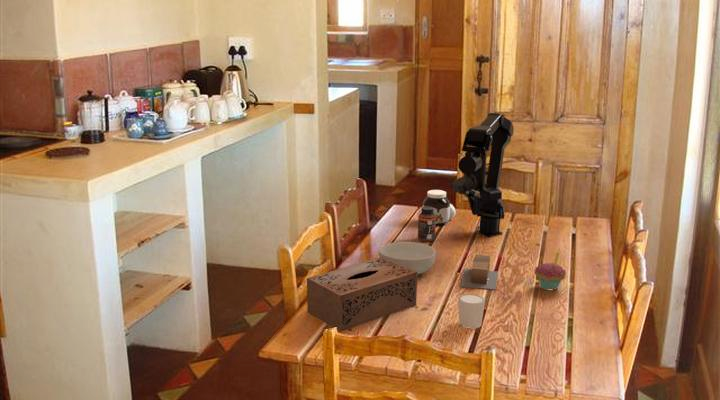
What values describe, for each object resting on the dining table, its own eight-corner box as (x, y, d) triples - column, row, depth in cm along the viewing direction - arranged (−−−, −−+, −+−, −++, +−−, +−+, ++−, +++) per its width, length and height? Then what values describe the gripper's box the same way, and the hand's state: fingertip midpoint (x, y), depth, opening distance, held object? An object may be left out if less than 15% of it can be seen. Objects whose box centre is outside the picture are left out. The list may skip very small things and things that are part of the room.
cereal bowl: (442, 267, 228) (443, 245, 226) (423, 286, 214) (424, 263, 212) (391, 258, 235) (391, 237, 233) (369, 276, 221) (370, 254, 219)
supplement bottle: (434, 243, 250) (435, 210, 247) (416, 241, 251) (417, 209, 248) (436, 237, 256) (437, 205, 252) (418, 236, 257) (419, 204, 254)
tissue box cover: (381, 289, 212) (382, 256, 209) (416, 306, 201) (417, 272, 198) (307, 313, 196) (306, 278, 193) (340, 332, 185) (340, 295, 183)
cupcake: (565, 284, 216) (568, 245, 213) (562, 295, 208) (566, 254, 205) (535, 280, 219) (538, 241, 215) (531, 291, 211) (534, 251, 208)
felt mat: (464, 269, 227) (464, 268, 226) (498, 272, 224) (498, 271, 224) (460, 286, 213) (460, 285, 213) (495, 290, 211) (495, 289, 211)
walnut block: (475, 254, 225) (471, 268, 214) (490, 255, 224) (487, 269, 213) (474, 268, 227) (470, 283, 215) (489, 269, 226) (486, 284, 214)
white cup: (454, 318, 193) (455, 293, 191) (480, 317, 194) (481, 293, 192) (459, 330, 186) (461, 304, 184) (486, 329, 187) (488, 304, 185)
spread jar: (420, 225, 268) (421, 194, 265) (423, 216, 279) (424, 186, 276) (454, 227, 267) (455, 196, 263) (455, 218, 277) (457, 187, 274)
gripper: (438, 165, 240) (437, 211, 244) (476, 177, 224) (474, 226, 229) (465, 161, 245) (463, 206, 250) (504, 172, 230) (501, 220, 234)
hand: (474, 214), depth 240 cm, fingers closed
